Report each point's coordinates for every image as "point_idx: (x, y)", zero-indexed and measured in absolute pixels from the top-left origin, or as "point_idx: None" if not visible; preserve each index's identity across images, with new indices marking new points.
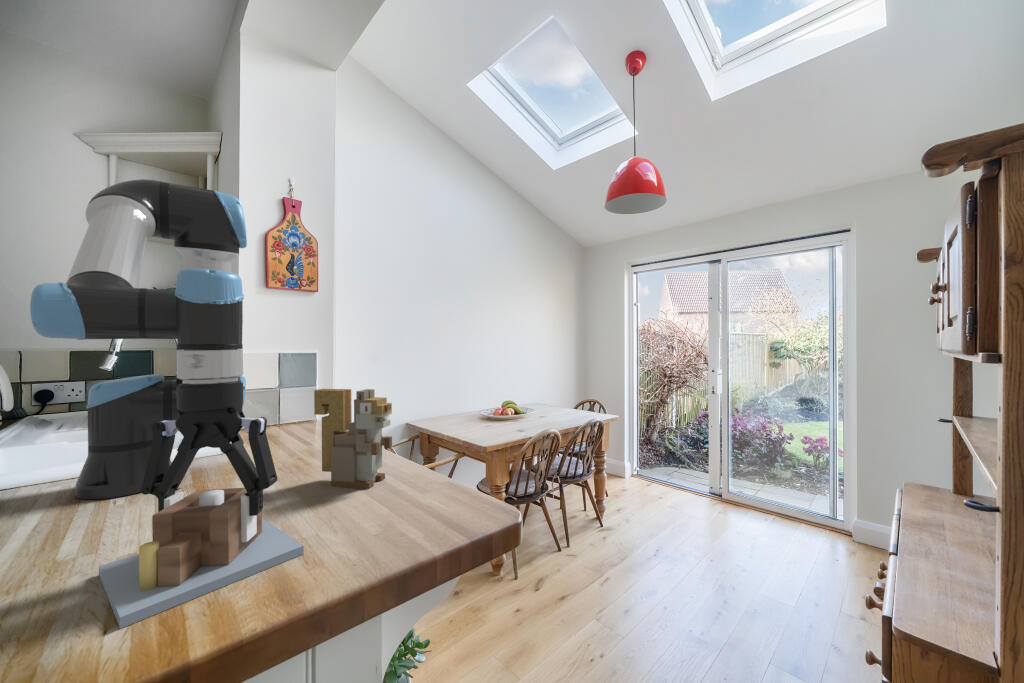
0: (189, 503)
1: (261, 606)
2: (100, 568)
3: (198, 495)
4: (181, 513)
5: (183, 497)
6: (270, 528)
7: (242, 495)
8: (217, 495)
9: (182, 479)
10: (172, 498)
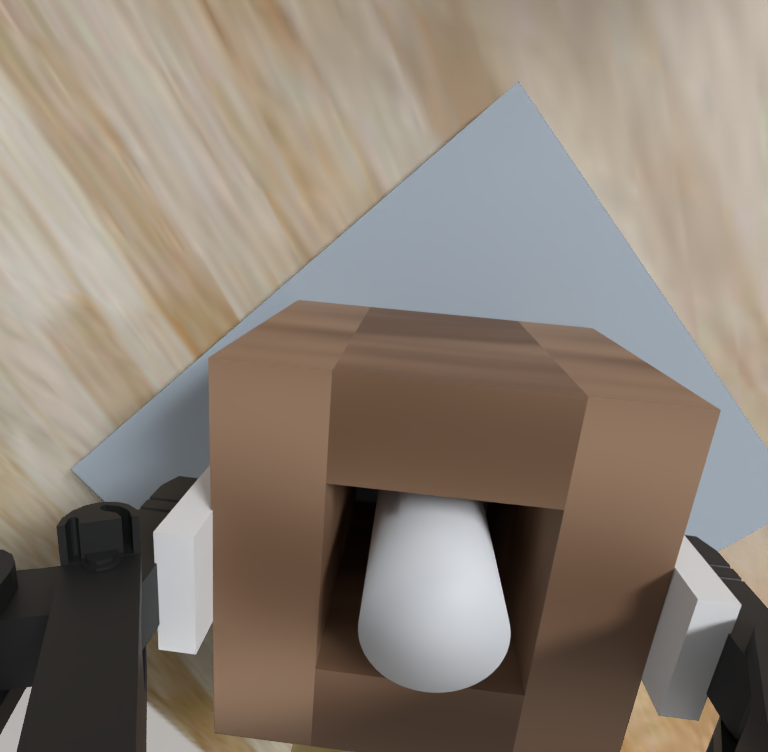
0: (314, 616)
1: (681, 726)
2: (92, 487)
3: (288, 485)
4: (358, 748)
5: (210, 516)
6: (623, 286)
7: (669, 712)
8: (490, 672)
9: (139, 619)
10: (195, 629)
